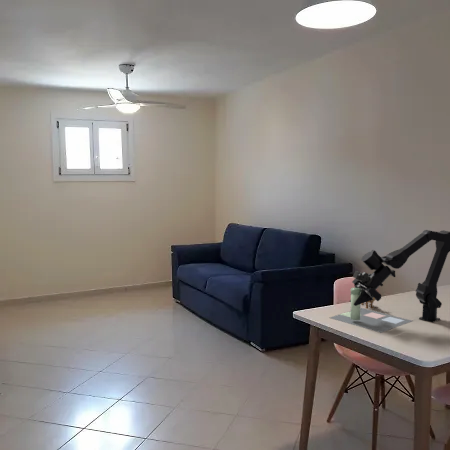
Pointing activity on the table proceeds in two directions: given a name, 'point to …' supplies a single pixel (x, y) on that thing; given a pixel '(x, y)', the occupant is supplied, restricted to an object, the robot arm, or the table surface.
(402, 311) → the table surface
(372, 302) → the lion figurine
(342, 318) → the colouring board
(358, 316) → the pale green cylinder
